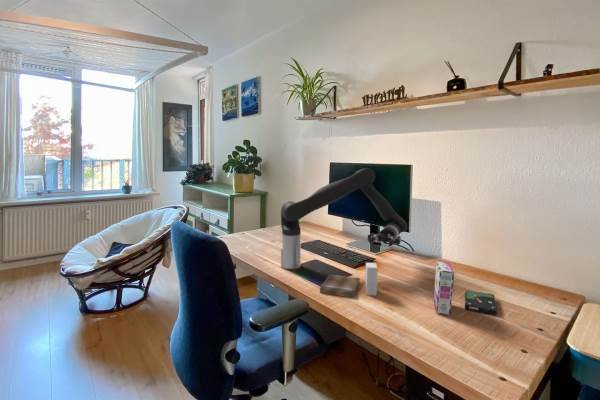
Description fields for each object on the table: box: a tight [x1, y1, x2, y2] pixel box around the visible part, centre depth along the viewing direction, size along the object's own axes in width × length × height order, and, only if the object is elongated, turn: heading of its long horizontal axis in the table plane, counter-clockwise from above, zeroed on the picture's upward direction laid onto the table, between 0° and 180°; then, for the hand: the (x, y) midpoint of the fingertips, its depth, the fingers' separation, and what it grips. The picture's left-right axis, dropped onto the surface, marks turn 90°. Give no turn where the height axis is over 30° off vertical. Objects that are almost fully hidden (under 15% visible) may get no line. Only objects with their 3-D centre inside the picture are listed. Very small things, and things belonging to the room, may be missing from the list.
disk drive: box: [464, 289, 498, 317], centre depth 125 cm, size 10×3×15 cm
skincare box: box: [364, 262, 378, 296], centre depth 135 cm, size 6×4×12 cm
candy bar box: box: [433, 261, 455, 316], centre depth 121 cm, size 11×5×16 cm, turn 163°
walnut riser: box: [319, 273, 361, 298], centre depth 141 cm, size 14×16×3 cm
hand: (379, 242), depth 143 cm, fingers open, 8 cm apart
